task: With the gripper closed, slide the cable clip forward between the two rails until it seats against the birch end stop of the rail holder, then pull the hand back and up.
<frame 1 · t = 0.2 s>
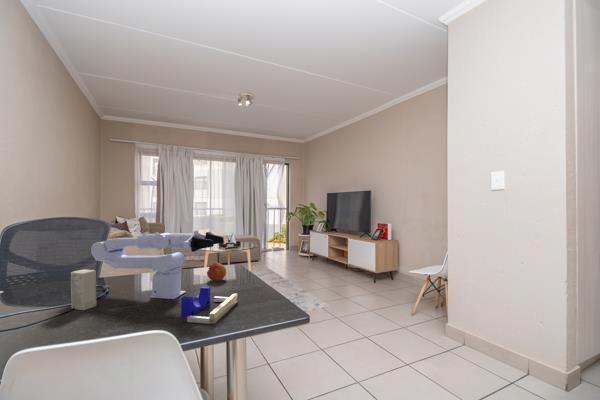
hand: (218, 241, 102), 21 cm above the table, tool horizontal, fingers open, 7 cm apart
rail holder: (213, 311, 91), on the table
fruit: (216, 280, 126), on the table
skincare box: (83, 307, 93), on the table
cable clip: (194, 310, 92), on the table
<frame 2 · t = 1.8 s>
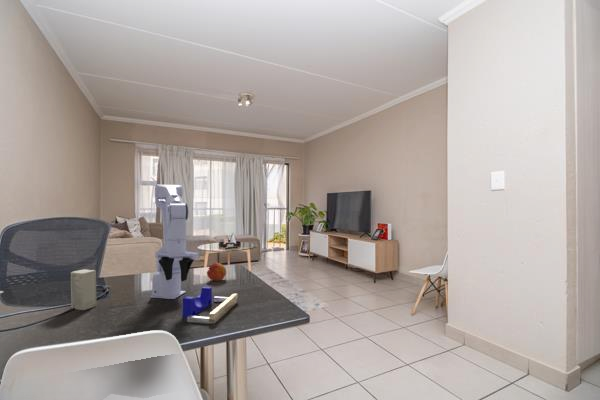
hand: (176, 279, 93), 9 cm above the table, tool pointing down, fingers open, 5 cm apart
nothing on the table moved.
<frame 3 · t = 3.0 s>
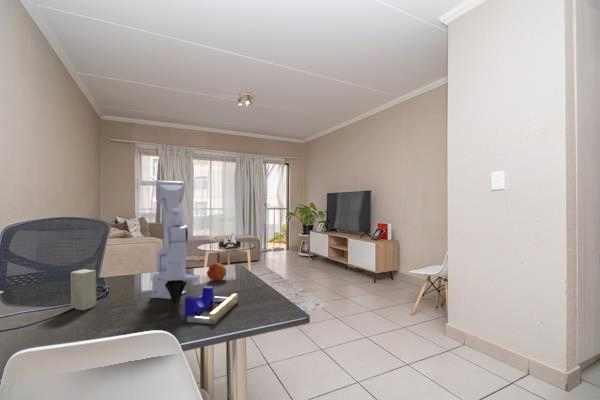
hand: (176, 302, 93), 2 cm above the table, tool pointing down, fingers closed
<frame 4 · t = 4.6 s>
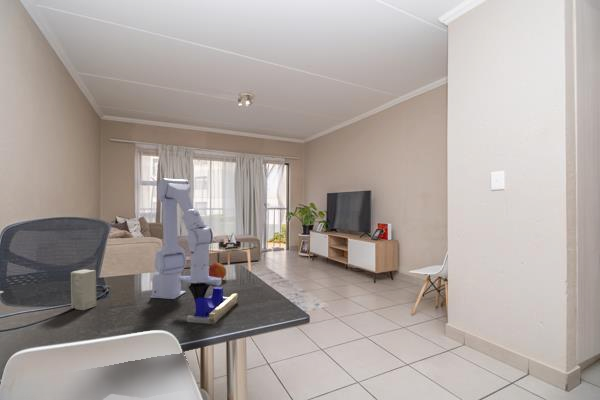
hand: (199, 305, 91), 1 cm above the table, tool pointing down, fingers closed
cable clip: (207, 311, 91), on the table
everything else where it was.
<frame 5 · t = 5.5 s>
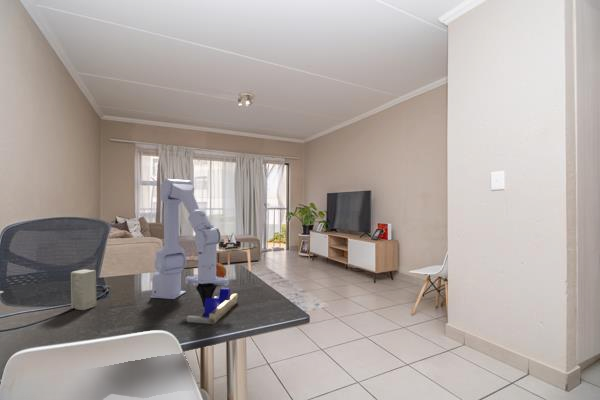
hand: (206, 306, 91), 1 cm above the table, tool pointing down, fingers closed
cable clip: (215, 312, 91), on the table
everything else where it was.
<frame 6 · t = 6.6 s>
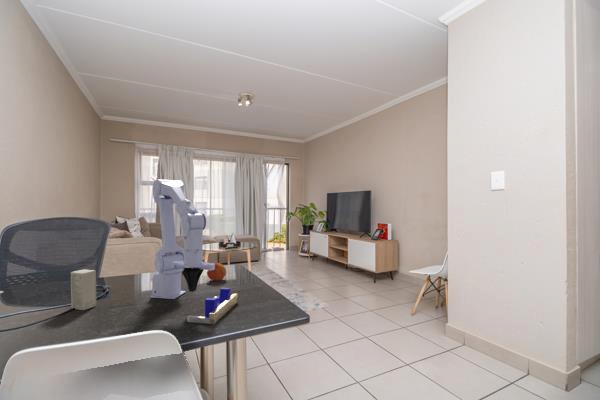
hand: (192, 290, 92), 6 cm above the table, tool pointing down, fingers closed
nothing on the table moved.
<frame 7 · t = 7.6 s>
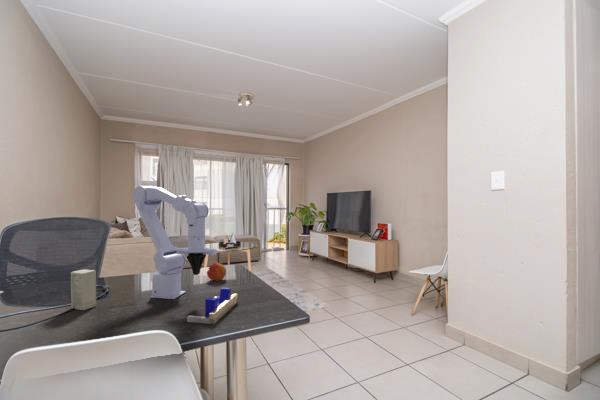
hand: (196, 274, 100), 9 cm above the table, tool pointing down, fingers closed
nothing on the table moved.
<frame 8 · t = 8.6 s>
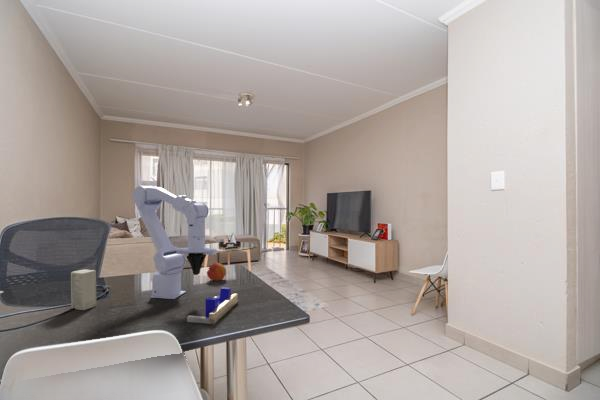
hand: (196, 274, 100), 9 cm above the table, tool pointing down, fingers closed
nothing on the table moved.
at the end: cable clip inside the target area (0.8 cm from its centre), on the table; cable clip tilted 0°; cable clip moved 7.8 cm from its start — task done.
